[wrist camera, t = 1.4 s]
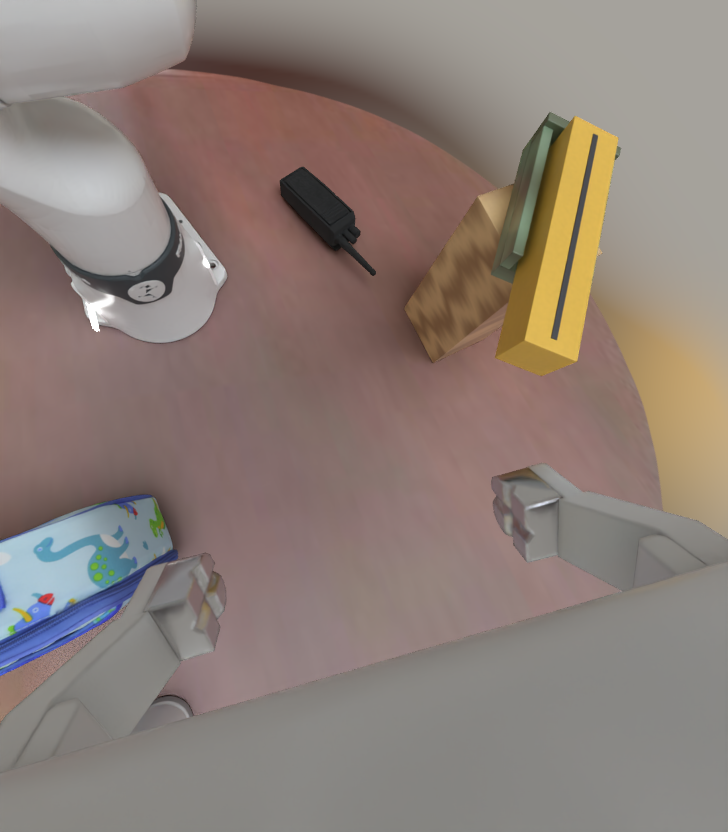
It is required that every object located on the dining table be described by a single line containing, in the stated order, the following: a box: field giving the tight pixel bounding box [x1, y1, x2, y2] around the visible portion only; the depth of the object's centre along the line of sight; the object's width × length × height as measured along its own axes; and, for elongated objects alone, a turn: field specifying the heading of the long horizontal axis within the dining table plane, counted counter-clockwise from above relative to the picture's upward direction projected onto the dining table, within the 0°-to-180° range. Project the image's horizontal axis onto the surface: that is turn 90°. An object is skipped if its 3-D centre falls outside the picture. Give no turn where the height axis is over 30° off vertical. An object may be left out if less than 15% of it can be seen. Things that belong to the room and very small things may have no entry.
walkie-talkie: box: [280, 167, 376, 276], centre depth 54 cm, size 6×6×20 cm
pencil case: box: [495, 116, 618, 376], centre depth 31 cm, size 22×4×4 cm, turn 162°
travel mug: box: [130, 696, 193, 734], centre depth 32 cm, size 6×7×20 cm
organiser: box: [404, 112, 621, 363], centre depth 45 cm, size 15×14×28 cm
